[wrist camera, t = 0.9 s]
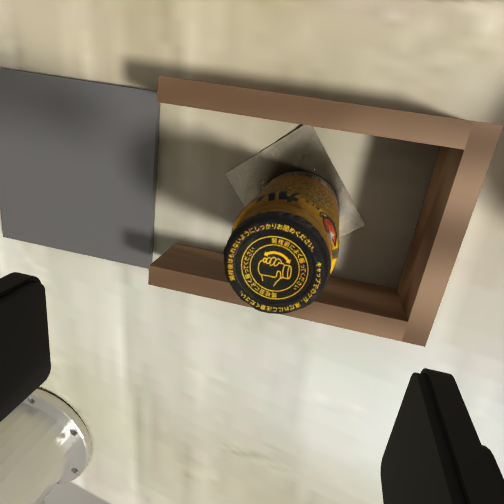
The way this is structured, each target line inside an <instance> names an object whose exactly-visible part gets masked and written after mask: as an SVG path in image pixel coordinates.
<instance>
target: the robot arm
mask: <svg viewBox="0 0 504 504" xmlns="http://www.w3.org/2000/svg"><path fill="white" fill-rule="evenodd" d="M50 370H51V362H50V349H49V336H48V322H47V309H46V296H45V288H44V286H43V285H42V284H41V282H40V280H39V278H37V277H35V276H30V275H26V274H22V273H17V272H14V273H10V274H8V275H6V276H4V277H2V278H0V504H44V499H45V498H46V496H47V495H48V494H49V493H50V491H51V490H52V489H53V487H54V486H55V485H56V484H59V483H65V482H69V481H72V480H74V479H76V478H77V477H78V476H80V475H81V473H82V472H83V471H84V469H85V468H86V467H87V465H88V463H89V461H90V459H91V454H92V444H91V440H90V436H89V433H88V431H87V429H86V427H85V425H84V424H83V422H82V420H81V419H80V418H79V416H78V415H77V414H76V413H75V412H74V411H73V410H72V409H71V408H70V407H69V406H68V405H67V404H66V403H64V402H63V401H61V400H60V399H58V398H57V397H55V396H54V395H52V394H50V393H47V392H45V391H43V390H39V389H37V388H38V387H39V386H40V385H41V384H42V383H43V382H44V381H45V380H46V379H47V377H48V376H49V373H50ZM381 483H382V492H383V502H384V504H504V479H503V476H502V474H501V472H500V469H499V467H498V465H497V463H496V460H495V458H494V456H493V454H492V452H491V451H490V449H488V448H487V447H486V446H483V445H481V443H480V440H479V438H478V435H477V433H476V430H475V428H474V425H473V423H472V421H471V418H470V416H469V413H468V411H467V408H466V406H465V403H464V401H463V399H462V396H461V394H460V391H459V389H458V386H457V384H456V382H455V379H454V377H453V376H452V375H451V374H448V373H444V372H439V371H435V370H431V369H426V368H425V369H423V370H422V371H421V373H420V374H419V373H413V374H412V376H411V378H410V381H409V384H408V387H407V390H406V392H405V395H404V398H403V401H402V404H401V407H400V409H399V412H398V415H397V418H396V421H395V424H394V426H393V429H392V432H391V435H390V438H389V441H388V444H387V446H386V449H385V452H384V455H383V458H382V463H381Z"/></svg>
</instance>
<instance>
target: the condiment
mask: <svg viewBox="0 0 504 504" xmlns="http://www.w3.org/2000/svg"><path fill="white" fill-rule="evenodd" d="M314 169H315V170H314ZM225 175H226V177H227V179H228V180H229V182H230V184H231V186H232V187H233V189H234V190H235V192H236V194H237V196H238V197H239V199H240V200H241V202H242V204H243V205H244V207H245V208H244V209H243V210H242V212H241V213H240V215H239V216H238V217H237V219H236V221H235V224H234V226H233V228H232V233H231V236H230V238H229V240H228V242H227V245H226V247H225V249H224V253H223V255H224V260H223V261H224V267H225V275H226V277H227V280H228V282H229V283H230V285H231V287H232V289H233V290H234V291H235V292H236V294H237V295H238V296H239V298H240V299H241V300H243V301H244V302H246V303H248V304H249V305H251V306H252V307H254V308H255V309H256V310H259V311H262V312H266V313H276V314H285V313H290V312H293V311H297V310H299V309H302V308H305V307H307V306H308V305H310V304H311V303H312V302H313V301H314V300H315V299H316V298H317V297H318V296H319V295H320V294H321V293H322V291H323V289H324V288H325V287H326V285H327V282H328V280H329V277H330V274H331V272H332V271H333V269H334V267H335V265H336V262H337V257H338V251H339V238H340V237H342V236H344V235H347V234H349V233H351V232H353V231H355V230H357V229H359V228H361V227H363V226H365V224H364V222H363V220H362V218H361V216H360V214H359V212H358V211H357V209H356V207H355V205H354V203H353V201H352V200H351V198H350V196H349V194H348V192H347V190H346V188H345V186H344V184H343V182H342V181H341V179H340V177H339V175H338V173H337V171H336V170H335V168H334V166H333V164H332V162H331V160H330V158H329V157H328V155H327V153H326V151H325V149H324V147H323V145H322V143H321V142H320V140H319V138H318V136H317V134H316V132H315V131H314V129H313V127H312V126H309V125H303V126H302V127H300V128H298V129H297V130H295V131H294V132H292V133H290V134H289V135H287V136H285V137H284V138H282V139H281V140H279V141H277V142H276V143H274V144H273V145H271V146H269V147H268V148H266V149H264V150H263V151H261V152H260V153H258V154H256V155H255V156H253V157H251V158H250V159H248V160H247V161H245V162H243V163H242V164H240V165H239V166H237V167H235V168H234V169H232V170H230V171H229V172H227V173H225ZM262 180H264V184H263V185H262V184H261V182H262ZM262 186H263V187H264V188H263V189H262V190H261V187H262Z"/></svg>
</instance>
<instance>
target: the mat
mask: <svg viewBox="0 0 504 504" xmlns="http://www.w3.org/2000/svg"><path fill="white" fill-rule="evenodd" d="M159 117H160V102H157V92H155V91H149V90H142V89H136V88H129V87H122V86H116V85H109V84H103V83H96V82H89V81H83V80H76V79H70V78H63V77H56V76H50V75H43V74H37V73H30V72H23V71H17V70H10V69H4V68H0V209H1V220H2V230H3V237H6V238H11V239H16V240H20V241H25V242H29V243H34V244H38V245H43V246H47V247H52V248H57V249H61V250H66V251H70V252H75V253H79V254H84V255H89V256H93V257H98V258H102V259H107V260H111V261H116V262H120V263H125V264H130V265H134V266H139V267H143V268H148V269H149V265H150V264H152V256H153V236H154V216H155V196H156V176H157V156H158V137H159Z"/></svg>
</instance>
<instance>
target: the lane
mask: <svg viewBox="0 0 504 504" xmlns="http://www.w3.org/2000/svg"><path fill="white" fill-rule="evenodd" d="M157 102H161V103H168V104H174V105H180V106H187V107H193V108H200V109H206V110H213V111H219V112H225V113H232V114H238V115H245V116H251V117H258V118H264V119H270V120H277V121H283V122H290V123H296V124H303V125H309V126H315V127H322V128H328V129H335V130H341V131H348V132H354V133H360V134H367V135H373V136H380V137H386V138H392V139H399V140H405V141H412V142H418V143H425V144H431V145H437V146H441V147H440V151H439V154H438V157H437V160H436V164H435V167H434V170H433V173H432V177H431V180H430V183H429V187H428V190H427V193H426V196H425V200H424V203H423V206H422V209H421V213H420V216H419V219H418V223H417V226H416V229H415V232H414V236H413V239H412V242H411V246H410V249H409V252H408V255H407V259H406V262H405V265H404V268H403V272H402V275H401V278H400V282H399V285H398V288H397V290H396V289H391V288H387V287H382V286H377V285H372V284H367V283H362V282H358V281H353V280H348V279H343V278H338V277H334V276H330V277H329V280H328V282H327V285H326V287H325V288H324V289H323V291H322V293H321V294H320V295H319V296H318V297H317V298H316V299H315V300H314V301H313V302H312V303H311V304H310V305H308V306H307V307H305V308H302V309H299V310H297V311H293V312H290V313H285V314H283V315H287V316H292V317H296V318H300V319H305V320H309V321H314V322H318V323H323V324H327V325H331V326H336V327H340V328H345V329H349V330H354V331H358V332H363V333H367V334H371V335H376V336H380V337H385V338H389V339H394V340H398V341H402V342H407V343H411V344H416V345H420V346H425V345H426V342H427V339H428V337H429V334H430V331H431V328H432V325H433V323H434V320H435V317H436V314H437V311H438V308H439V306H440V303H441V300H442V297H443V294H444V292H445V289H446V286H447V283H448V280H449V277H450V275H451V272H452V269H453V266H454V263H455V261H456V258H457V255H458V252H459V249H460V247H461V244H462V241H463V238H464V235H465V232H466V230H467V227H468V224H469V221H470V218H471V216H472V213H473V210H474V207H475V204H476V201H477V199H478V196H479V193H480V190H481V187H482V185H483V182H484V179H485V176H486V173H487V170H488V168H489V165H490V162H491V159H492V156H493V154H494V151H495V148H496V145H497V142H498V140H499V137H500V134H501V131H502V128H503V125H497V124H490V123H483V122H476V121H469V120H462V119H455V118H449V117H442V116H435V115H428V114H421V113H414V112H407V111H400V110H394V109H387V108H380V107H373V106H366V105H359V104H352V103H345V102H339V101H332V100H325V99H318V98H311V97H304V96H297V95H290V94H284V93H277V92H270V91H263V90H256V89H249V88H242V87H235V86H229V85H222V84H215V83H208V82H201V81H194V80H187V79H180V78H174V77H167V76H160V75H158V92H157ZM223 260H224V255H223V253H218V252H213V251H208V250H204V249H199V248H194V247H189V246H184V245H180V244H175V245H174V246H172V247H171V248H170V249H169V250H168V251H166V252H165V253H164V254H163V255H161V256H160V257H159V258H158V259H157V260H155V261H154V262H153V263H152V264H150V265H149V281H148V284H149V285H154V286H158V287H163V288H167V289H172V290H176V291H181V292H185V293H189V294H194V295H198V296H203V297H207V298H212V299H216V300H221V301H225V302H229V303H234V304H238V305H243V306H247V307H252V306H251V305H249V304H248V303H246V302H244V301H243V300H241V299H240V298H239V296H238V295H237V294H236V292H235V291H234V290H233V289H232V287H231V285H230V283H229V282H228V280H227V277H226V275H225V267H224V261H223ZM252 308H254V307H252Z"/></svg>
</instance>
